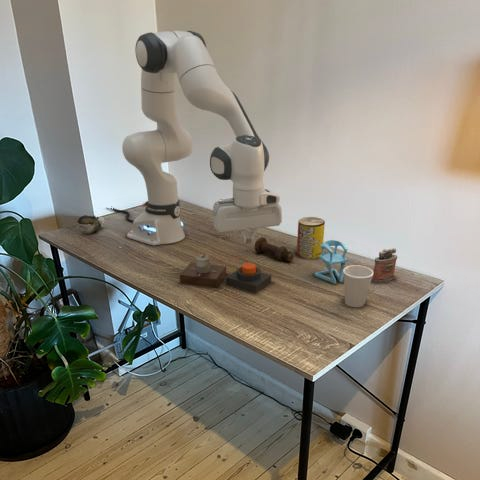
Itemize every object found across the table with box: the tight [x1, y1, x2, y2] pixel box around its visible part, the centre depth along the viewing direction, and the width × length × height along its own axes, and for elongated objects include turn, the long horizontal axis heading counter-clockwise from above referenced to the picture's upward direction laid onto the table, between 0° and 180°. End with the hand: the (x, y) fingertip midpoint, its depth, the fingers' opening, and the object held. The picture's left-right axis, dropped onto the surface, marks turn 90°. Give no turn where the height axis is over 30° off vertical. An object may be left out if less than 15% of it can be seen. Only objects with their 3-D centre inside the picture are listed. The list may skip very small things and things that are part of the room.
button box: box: [225, 266, 272, 294], centre depth 154 cm, size 11×9×4 cm
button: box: [241, 262, 257, 274], centre depth 152 cm, size 4×4×2 cm
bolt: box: [254, 237, 295, 262], centre depth 172 cm, size 6×5×15 cm
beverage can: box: [296, 216, 326, 260], centre depth 172 cm, size 9×9×12 cm
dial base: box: [179, 262, 227, 289], centre depth 157 cm, size 12×10×3 cm
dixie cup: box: [343, 264, 374, 308], centre depth 141 cm, size 8×8×10 cm
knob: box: [195, 253, 211, 273], centre depth 155 cm, size 4×4×5 cm
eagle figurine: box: [77, 214, 106, 235], centre depth 196 cm, size 8×7×9 cm
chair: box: [314, 239, 349, 285], centre depth 155 cm, size 8×8×12 cm
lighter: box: [371, 247, 398, 284], centre depth 154 cm, size 8×3×10 cm, turn 117°
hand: (247, 242), depth 148 cm, fingers closed
